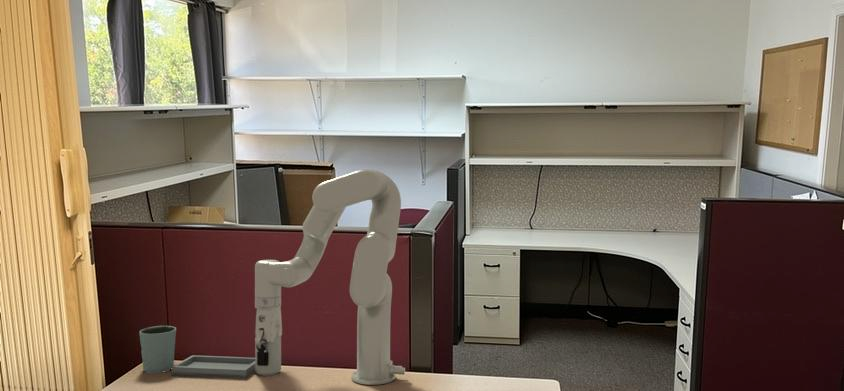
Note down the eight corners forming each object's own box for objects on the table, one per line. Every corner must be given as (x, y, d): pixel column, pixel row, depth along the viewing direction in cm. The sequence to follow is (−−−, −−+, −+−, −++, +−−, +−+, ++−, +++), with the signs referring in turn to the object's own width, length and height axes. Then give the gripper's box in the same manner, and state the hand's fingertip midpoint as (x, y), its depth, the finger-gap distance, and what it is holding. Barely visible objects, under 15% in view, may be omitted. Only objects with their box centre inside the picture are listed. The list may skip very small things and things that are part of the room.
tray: (262, 366, 190) (262, 358, 190) (245, 378, 178) (245, 370, 178) (192, 363, 193) (192, 355, 193) (171, 375, 180) (171, 366, 180)
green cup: (182, 365, 191) (182, 326, 191) (165, 374, 181) (165, 333, 181) (150, 363, 192) (150, 325, 192) (132, 373, 182) (132, 332, 182)
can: (274, 377, 179) (274, 336, 179) (250, 375, 180) (250, 334, 180) (285, 369, 186) (285, 330, 186) (262, 368, 188) (262, 329, 188)
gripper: (269, 308, 174) (269, 370, 174) (290, 297, 191) (290, 354, 191) (244, 307, 175) (244, 369, 175) (266, 296, 192) (266, 353, 192)
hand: (268, 361), depth 183 cm, fingers closed on can, 7 cm apart
